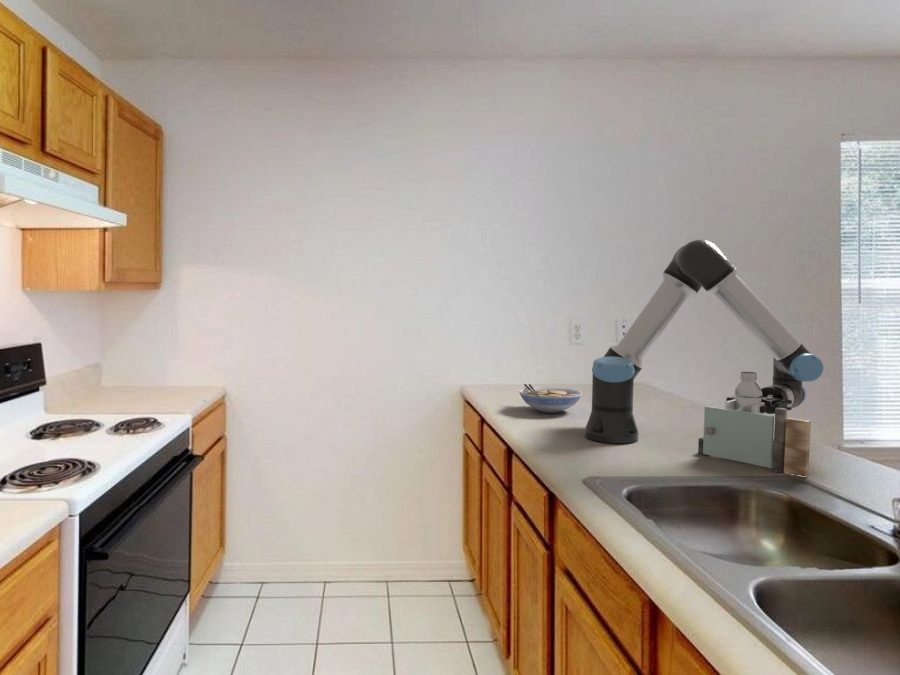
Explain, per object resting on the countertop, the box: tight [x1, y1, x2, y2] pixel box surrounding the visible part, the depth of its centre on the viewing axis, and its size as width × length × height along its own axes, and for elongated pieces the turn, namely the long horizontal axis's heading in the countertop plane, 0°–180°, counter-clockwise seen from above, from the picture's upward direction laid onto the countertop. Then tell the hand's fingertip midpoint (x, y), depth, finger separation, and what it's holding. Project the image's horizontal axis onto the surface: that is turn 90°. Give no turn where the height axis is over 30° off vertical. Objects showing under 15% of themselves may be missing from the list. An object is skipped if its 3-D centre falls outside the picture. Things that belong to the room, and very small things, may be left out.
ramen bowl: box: [518, 383, 583, 414], centre depth 208 cm, size 25×23×8 cm
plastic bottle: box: [733, 371, 762, 412], centre depth 149 cm, size 6×7×20 cm
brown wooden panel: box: [697, 408, 812, 477], centre depth 142 cm, size 26×5×15 cm, turn 41°
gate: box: [702, 405, 775, 469], centre depth 143 cm, size 16×3×12 cm, turn 41°
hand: (739, 408), depth 146 cm, fingers closed on plastic bottle, 6 cm apart
